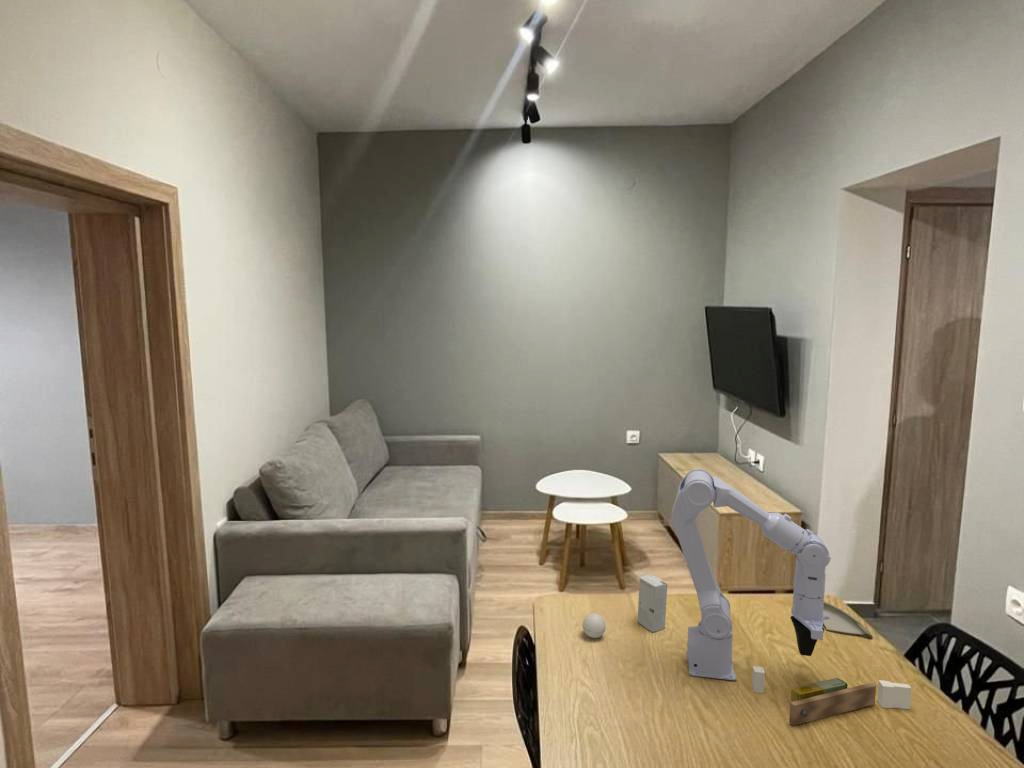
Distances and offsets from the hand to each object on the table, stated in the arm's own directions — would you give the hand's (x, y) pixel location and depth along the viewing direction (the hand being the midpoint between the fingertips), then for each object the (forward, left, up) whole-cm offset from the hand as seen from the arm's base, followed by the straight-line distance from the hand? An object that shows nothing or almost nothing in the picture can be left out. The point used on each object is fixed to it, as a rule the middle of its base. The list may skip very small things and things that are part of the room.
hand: (805, 653), depth 122 cm
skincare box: (-31, +18, -7) cm, 36 cm away
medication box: (+1, -7, -7) cm, 10 cm away
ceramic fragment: (+14, +28, -7) cm, 32 cm away
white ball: (-46, +10, -7) cm, 47 cm away
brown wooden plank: (+3, -10, -6) cm, 12 cm away
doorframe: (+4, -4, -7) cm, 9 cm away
